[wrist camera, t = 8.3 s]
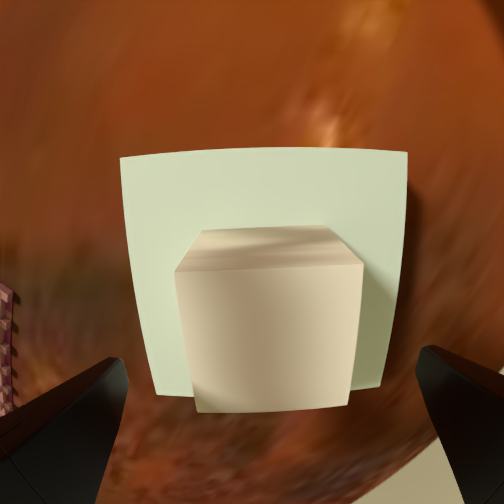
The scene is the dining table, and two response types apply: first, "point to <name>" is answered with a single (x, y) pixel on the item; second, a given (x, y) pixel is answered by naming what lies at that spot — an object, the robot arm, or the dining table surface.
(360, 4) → the dining table surface
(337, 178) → the sage block
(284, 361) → the birch cube
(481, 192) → the dining table surface
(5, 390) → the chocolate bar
